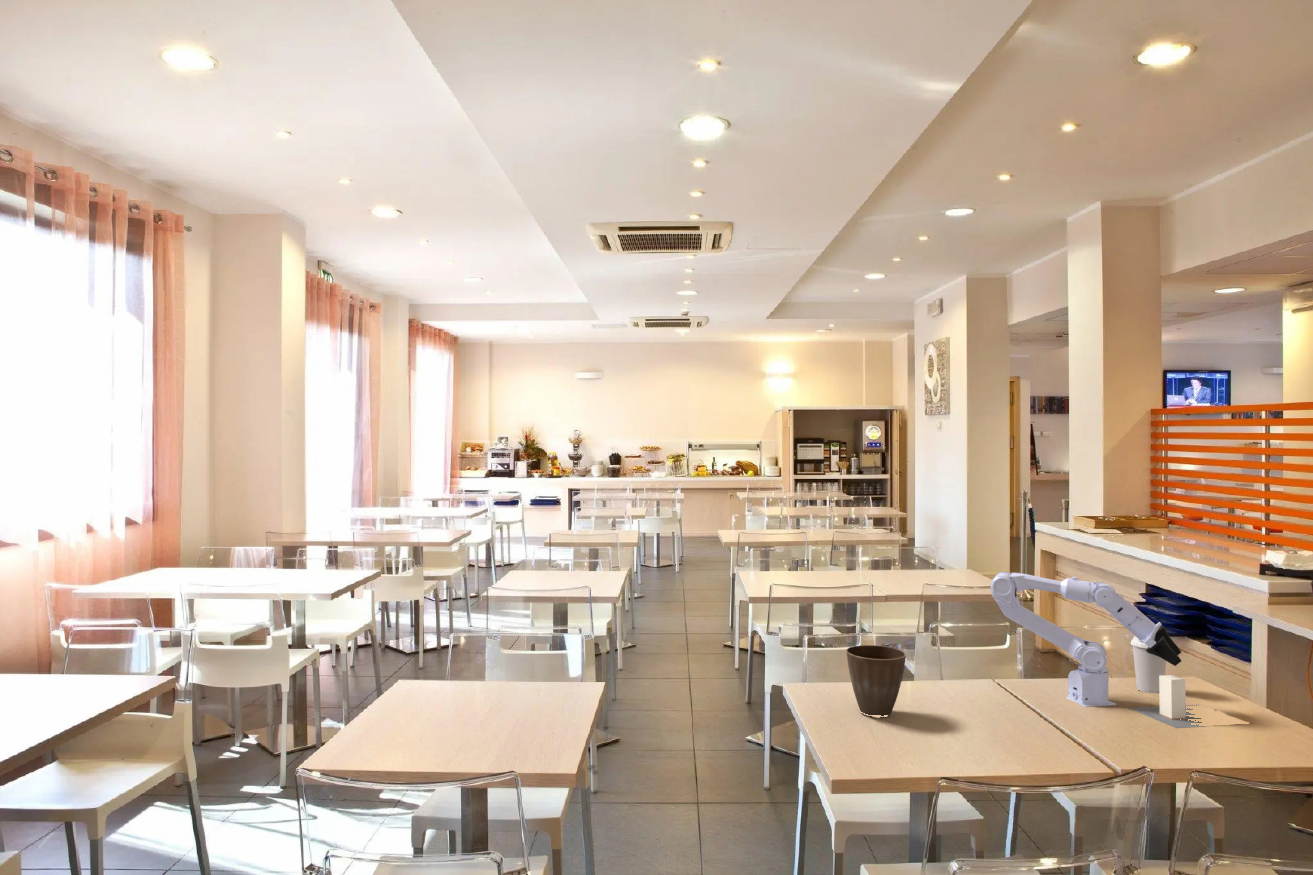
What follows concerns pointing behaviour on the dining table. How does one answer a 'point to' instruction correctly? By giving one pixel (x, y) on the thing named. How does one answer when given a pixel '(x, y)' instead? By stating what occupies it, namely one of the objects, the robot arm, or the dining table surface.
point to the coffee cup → (1147, 667)
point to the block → (1172, 697)
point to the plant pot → (876, 677)
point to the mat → (1177, 723)
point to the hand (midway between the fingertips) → (1178, 658)
